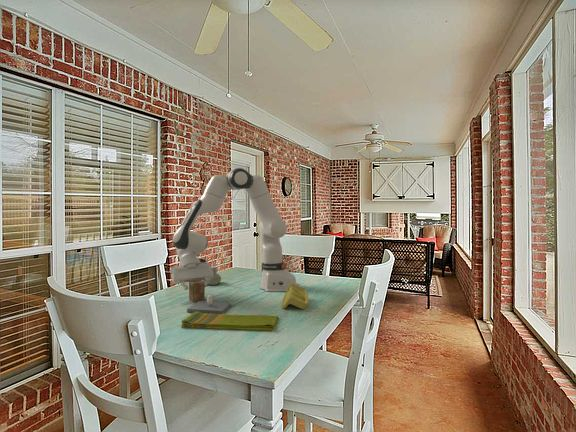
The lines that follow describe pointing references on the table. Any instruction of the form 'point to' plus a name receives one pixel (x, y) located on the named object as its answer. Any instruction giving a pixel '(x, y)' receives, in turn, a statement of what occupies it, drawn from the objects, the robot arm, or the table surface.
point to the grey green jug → (214, 277)
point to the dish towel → (230, 322)
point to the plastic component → (295, 297)
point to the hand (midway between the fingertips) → (196, 287)
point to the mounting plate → (209, 306)
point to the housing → (196, 291)
